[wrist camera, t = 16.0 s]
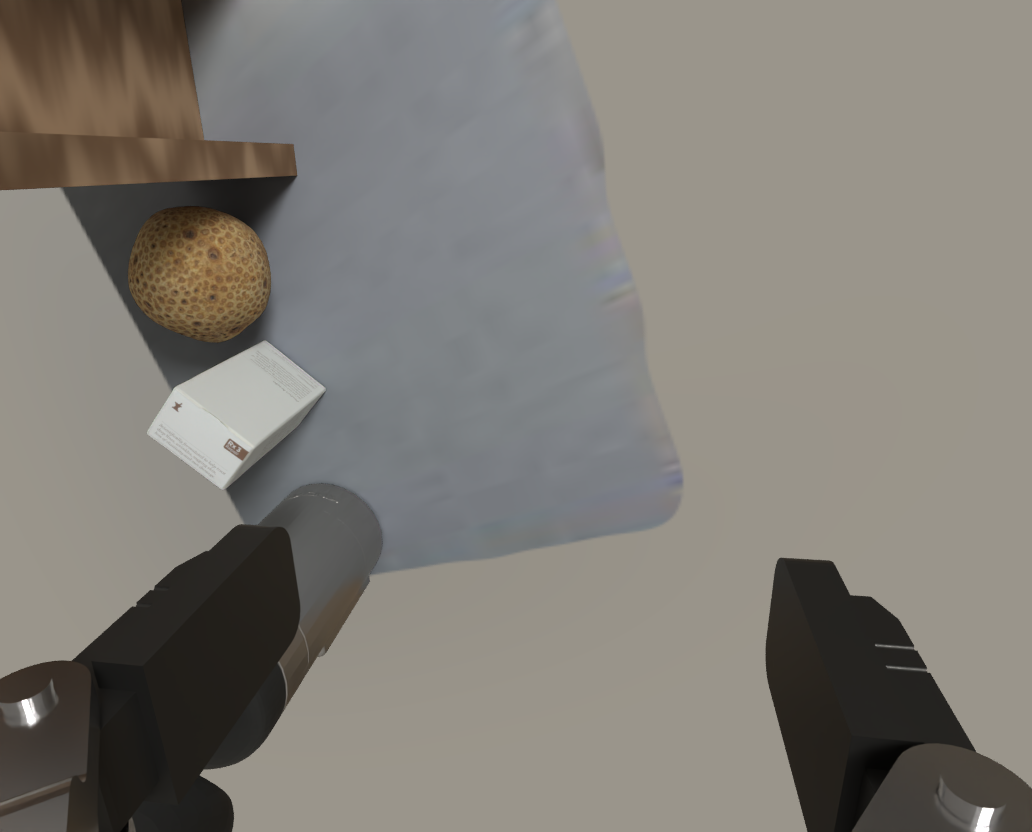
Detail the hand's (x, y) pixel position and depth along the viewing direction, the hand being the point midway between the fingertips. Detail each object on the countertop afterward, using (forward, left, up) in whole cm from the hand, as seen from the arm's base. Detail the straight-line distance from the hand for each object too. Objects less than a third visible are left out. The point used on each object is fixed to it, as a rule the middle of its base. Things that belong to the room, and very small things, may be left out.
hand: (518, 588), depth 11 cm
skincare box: (-9, +24, -38) cm, 46 cm away
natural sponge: (0, +26, -38) cm, 46 cm away
